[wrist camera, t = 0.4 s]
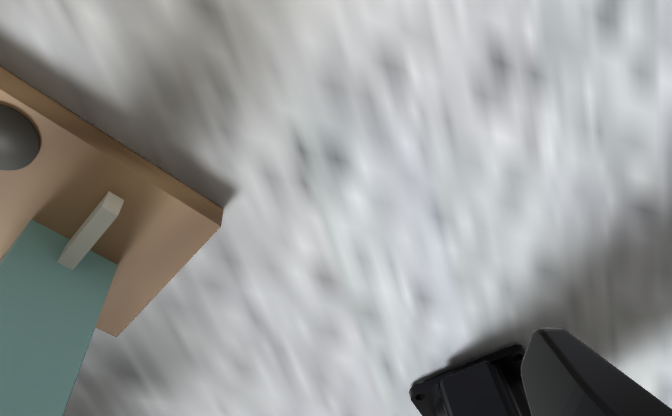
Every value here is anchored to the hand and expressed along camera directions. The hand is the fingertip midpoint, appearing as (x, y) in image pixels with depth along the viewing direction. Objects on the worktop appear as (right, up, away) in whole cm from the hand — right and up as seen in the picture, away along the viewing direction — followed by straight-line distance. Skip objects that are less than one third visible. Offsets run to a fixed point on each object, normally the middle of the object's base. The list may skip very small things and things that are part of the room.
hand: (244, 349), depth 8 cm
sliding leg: (-9, +1, +13) cm, 15 cm away
